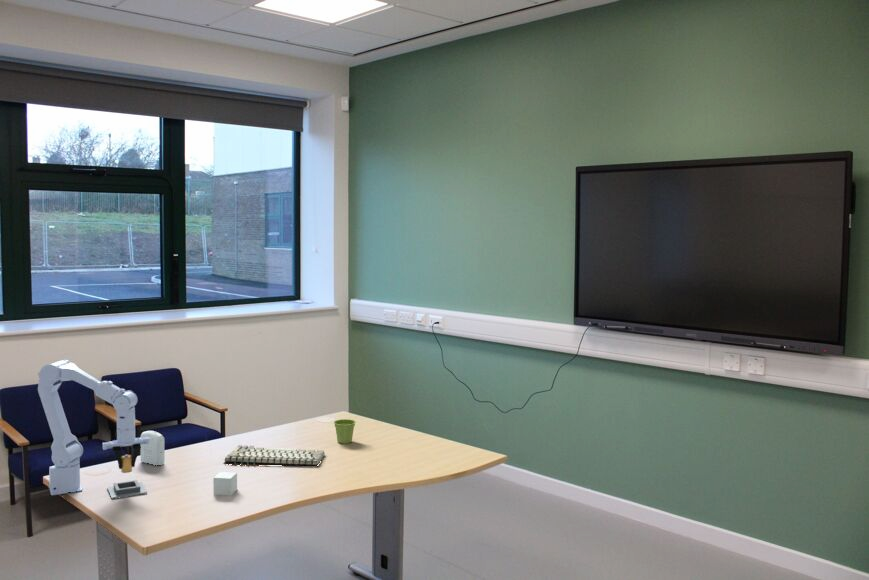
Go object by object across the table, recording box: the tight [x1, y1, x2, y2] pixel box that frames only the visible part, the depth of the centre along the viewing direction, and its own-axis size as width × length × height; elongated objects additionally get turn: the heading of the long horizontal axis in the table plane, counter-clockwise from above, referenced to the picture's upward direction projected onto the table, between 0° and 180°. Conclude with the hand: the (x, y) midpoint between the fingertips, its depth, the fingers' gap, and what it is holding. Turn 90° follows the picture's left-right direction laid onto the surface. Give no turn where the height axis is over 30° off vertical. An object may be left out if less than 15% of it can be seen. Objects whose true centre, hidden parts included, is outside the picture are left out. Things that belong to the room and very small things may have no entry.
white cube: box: [212, 471, 238, 496], centre depth 248 cm, size 6×6×6 cm
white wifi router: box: [139, 430, 165, 467], centre depth 276 cm, size 10×4×12 cm, turn 60°
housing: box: [106, 479, 148, 500], centre depth 247 cm, size 11×11×2 cm
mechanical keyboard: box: [223, 444, 326, 467], centre depth 285 cm, size 38×19×3 cm, turn 89°
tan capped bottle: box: [120, 454, 133, 474], centre depth 247 cm, size 3×3×6 cm
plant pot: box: [333, 418, 357, 445], centre depth 309 cm, size 9×9×9 cm
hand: (126, 467), depth 247 cm, fingers closed on tan capped bottle, 3 cm apart
